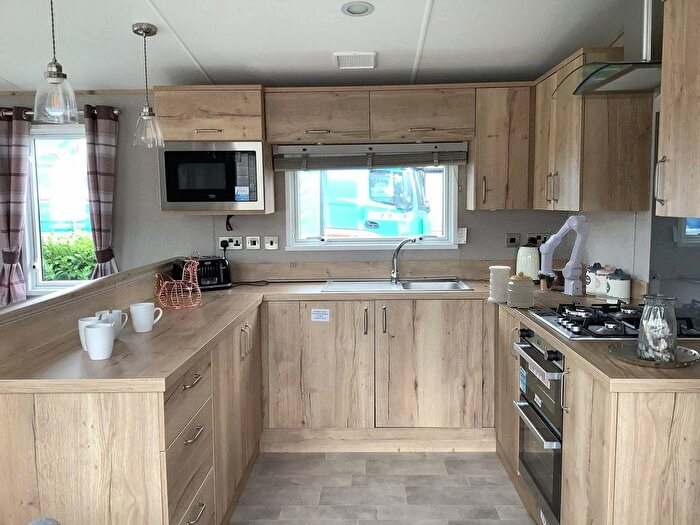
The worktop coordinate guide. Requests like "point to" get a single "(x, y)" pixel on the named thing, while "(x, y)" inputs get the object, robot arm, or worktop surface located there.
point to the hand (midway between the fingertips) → (546, 287)
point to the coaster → (540, 291)
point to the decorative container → (499, 283)
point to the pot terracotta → (544, 285)
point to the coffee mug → (558, 277)
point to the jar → (520, 291)
